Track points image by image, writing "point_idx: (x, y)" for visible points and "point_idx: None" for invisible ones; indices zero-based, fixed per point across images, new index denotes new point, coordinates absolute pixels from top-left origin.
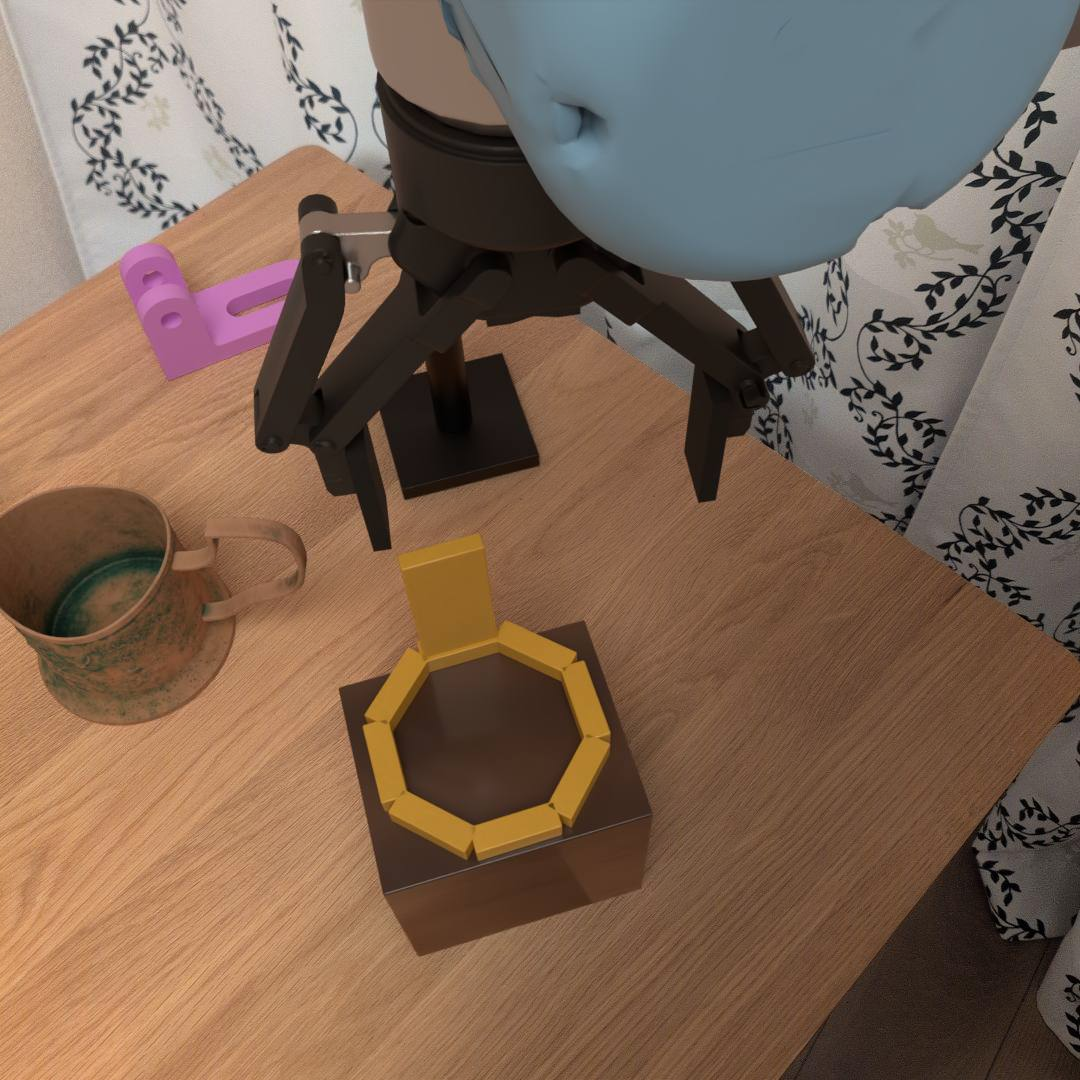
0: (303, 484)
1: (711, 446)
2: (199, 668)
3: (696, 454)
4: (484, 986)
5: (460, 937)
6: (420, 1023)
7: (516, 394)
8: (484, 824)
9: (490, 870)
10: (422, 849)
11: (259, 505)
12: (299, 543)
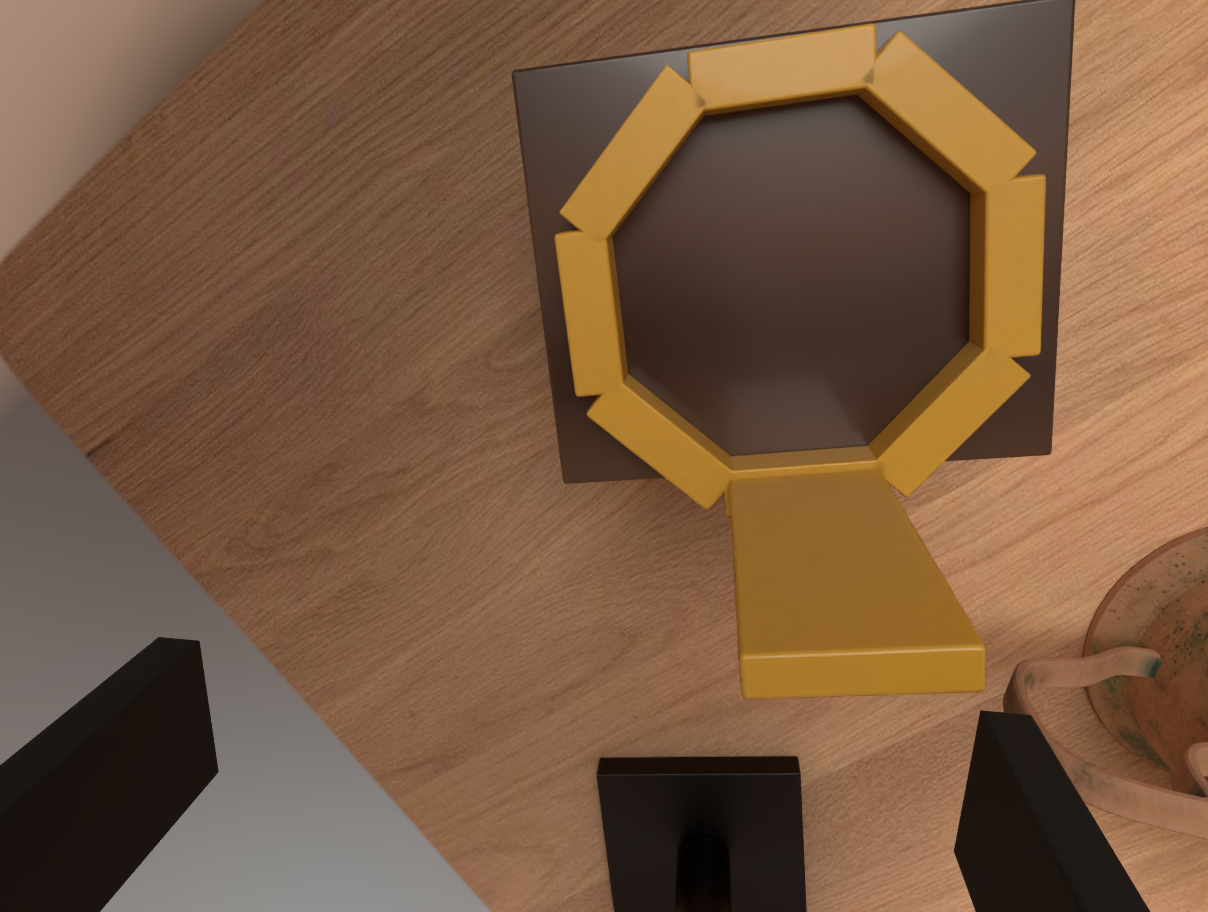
0: (936, 814)
1: (8, 796)
2: (1167, 580)
3: (131, 769)
4: (843, 9)
5: None
6: None
7: (609, 867)
8: (843, 86)
9: None
10: (971, 80)
11: None
12: None
